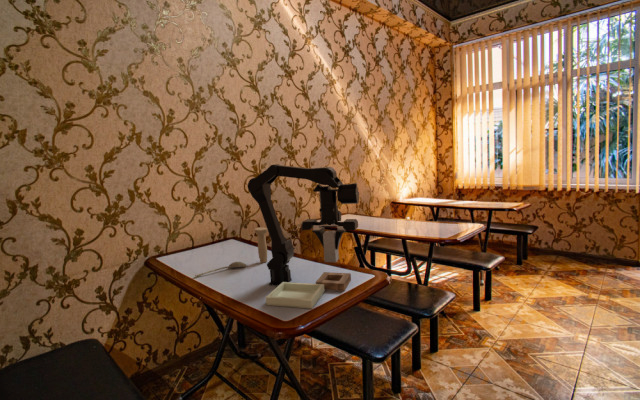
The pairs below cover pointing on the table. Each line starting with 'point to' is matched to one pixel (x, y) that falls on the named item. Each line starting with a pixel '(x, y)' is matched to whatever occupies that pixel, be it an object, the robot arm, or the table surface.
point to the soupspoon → (234, 264)
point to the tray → (295, 295)
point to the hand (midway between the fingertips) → (331, 249)
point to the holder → (334, 281)
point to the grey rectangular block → (330, 247)
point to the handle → (262, 244)
